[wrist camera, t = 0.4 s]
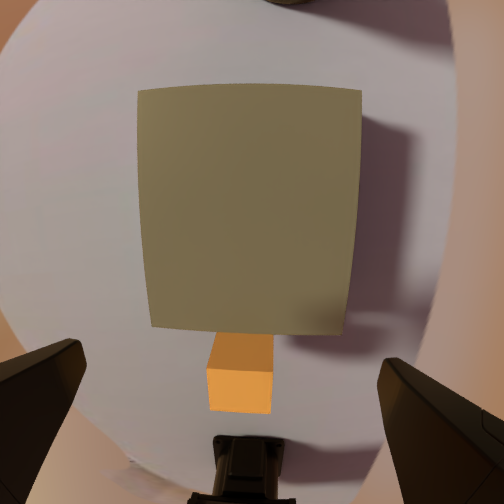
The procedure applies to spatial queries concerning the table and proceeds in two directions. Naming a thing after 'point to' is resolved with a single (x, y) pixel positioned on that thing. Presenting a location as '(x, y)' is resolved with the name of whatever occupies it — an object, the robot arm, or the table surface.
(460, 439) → the robot arm
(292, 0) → the supplement bottle
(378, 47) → the table surface
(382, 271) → the table surface
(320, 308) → the lid
